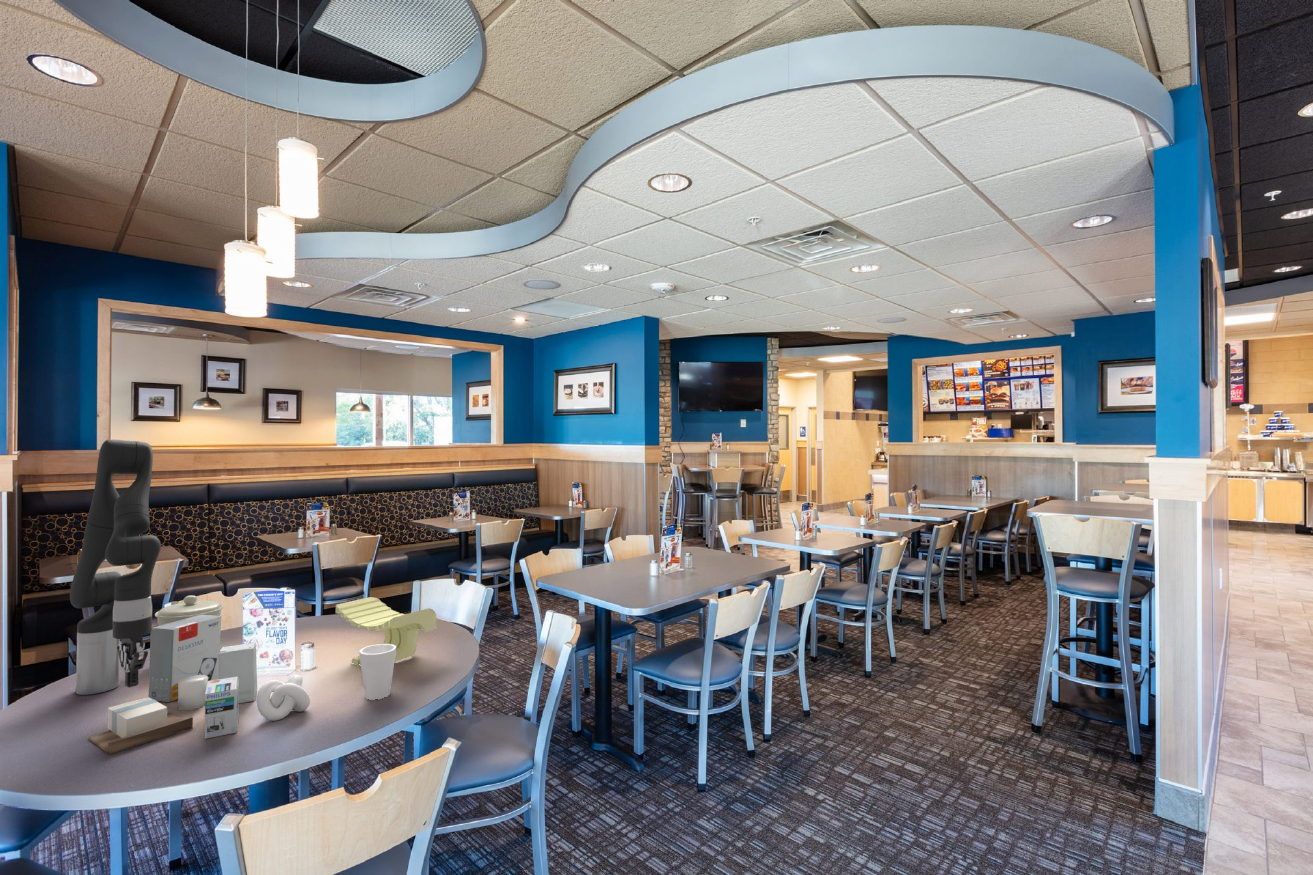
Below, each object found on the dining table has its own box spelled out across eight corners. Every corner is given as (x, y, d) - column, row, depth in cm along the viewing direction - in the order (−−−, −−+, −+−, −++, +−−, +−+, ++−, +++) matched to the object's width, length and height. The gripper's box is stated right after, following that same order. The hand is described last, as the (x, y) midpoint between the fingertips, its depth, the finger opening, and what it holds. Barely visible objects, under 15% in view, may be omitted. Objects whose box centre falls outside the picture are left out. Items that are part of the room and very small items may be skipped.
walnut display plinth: (88, 739, 147) (88, 728, 147) (169, 714, 161) (169, 704, 161) (109, 754, 140) (109, 743, 140) (192, 727, 153) (192, 717, 153)
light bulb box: (237, 732, 151) (238, 688, 151) (203, 739, 147) (204, 694, 147) (238, 716, 160) (239, 675, 160) (206, 723, 156) (207, 680, 156)
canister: (148, 660, 202) (149, 596, 202) (214, 647, 216) (215, 586, 216) (161, 673, 190) (162, 605, 190) (230, 658, 204) (231, 594, 204)
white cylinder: (173, 706, 166) (174, 680, 166) (201, 698, 171) (201, 673, 171) (183, 712, 163) (184, 685, 163) (211, 703, 168) (212, 677, 168)
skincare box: (257, 694, 174) (258, 641, 175) (254, 702, 169) (255, 647, 169) (221, 699, 171) (222, 645, 171) (217, 707, 165) (218, 651, 166)
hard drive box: (169, 703, 168) (171, 629, 168) (147, 701, 170) (148, 628, 170) (220, 682, 183) (221, 614, 184) (199, 680, 185) (200, 613, 185)
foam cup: (403, 692, 176) (403, 646, 176) (376, 704, 167) (376, 656, 168) (379, 686, 180) (379, 642, 180) (351, 698, 171) (352, 651, 172)
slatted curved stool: (436, 660, 202) (436, 606, 203) (393, 675, 189) (393, 617, 189) (378, 645, 218) (378, 594, 218) (335, 658, 204) (335, 604, 204)
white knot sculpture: (262, 708, 165) (262, 674, 165) (313, 701, 170) (313, 668, 170) (253, 725, 155) (254, 689, 155) (308, 717, 159) (308, 682, 159)
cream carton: (107, 707, 152) (126, 719, 145) (148, 696, 158) (167, 707, 152) (107, 728, 152) (125, 741, 145) (147, 716, 158) (167, 727, 152)
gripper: (161, 616, 154) (160, 686, 154) (141, 609, 161) (140, 675, 161) (123, 623, 148) (122, 696, 147) (103, 615, 155) (102, 685, 155)
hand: (131, 685), depth 154 cm, fingers closed
